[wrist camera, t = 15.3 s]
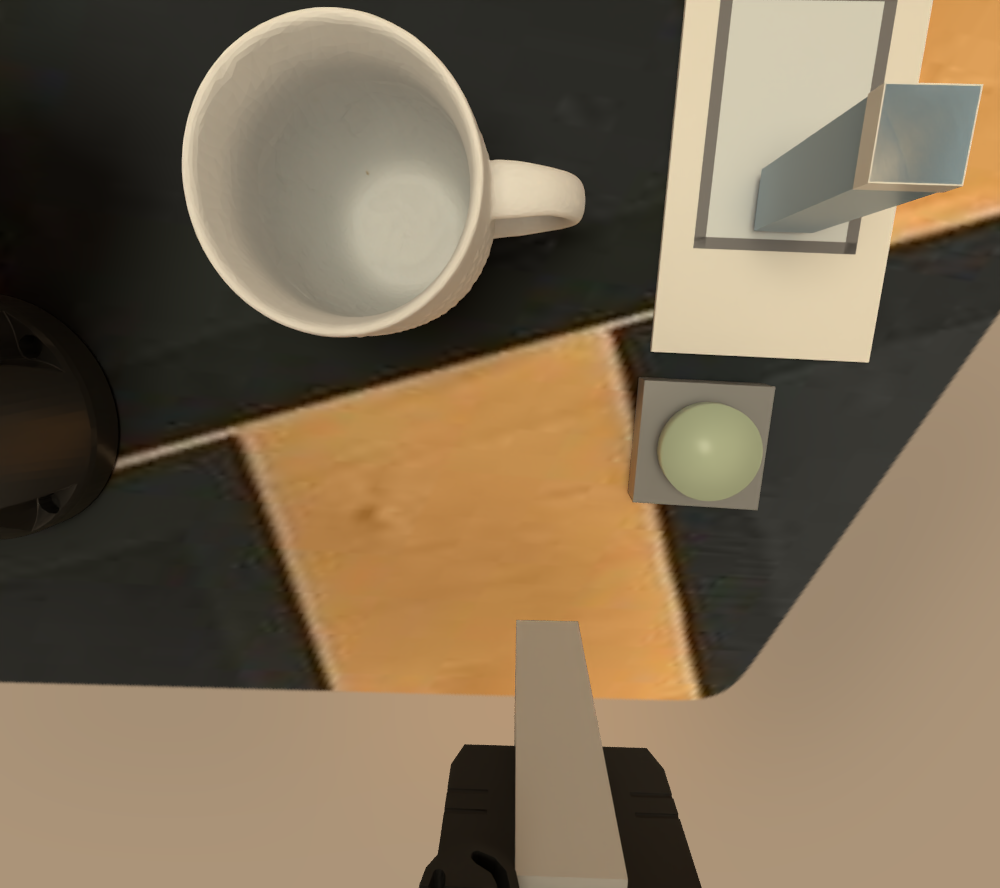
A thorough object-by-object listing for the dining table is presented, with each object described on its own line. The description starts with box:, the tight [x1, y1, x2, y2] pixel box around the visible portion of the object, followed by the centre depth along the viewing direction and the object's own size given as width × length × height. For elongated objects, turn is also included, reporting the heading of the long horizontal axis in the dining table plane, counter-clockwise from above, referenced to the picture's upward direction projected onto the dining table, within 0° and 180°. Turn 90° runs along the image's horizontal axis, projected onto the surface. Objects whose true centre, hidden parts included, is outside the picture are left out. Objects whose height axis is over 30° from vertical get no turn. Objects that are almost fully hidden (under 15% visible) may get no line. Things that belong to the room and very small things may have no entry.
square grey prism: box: [754, 82, 983, 233], centre depth 25 cm, size 3×3×12 cm
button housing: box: [628, 377, 775, 510], centre depth 33 cm, size 7×7×2 cm
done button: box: [657, 402, 763, 501], centre depth 32 cm, size 5×5×4 cm
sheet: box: [650, 0, 933, 362], centre depth 30 cm, size 12×24×1 cm, turn 177°
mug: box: [182, 7, 585, 337], centre depth 27 cm, size 15×11×13 cm
